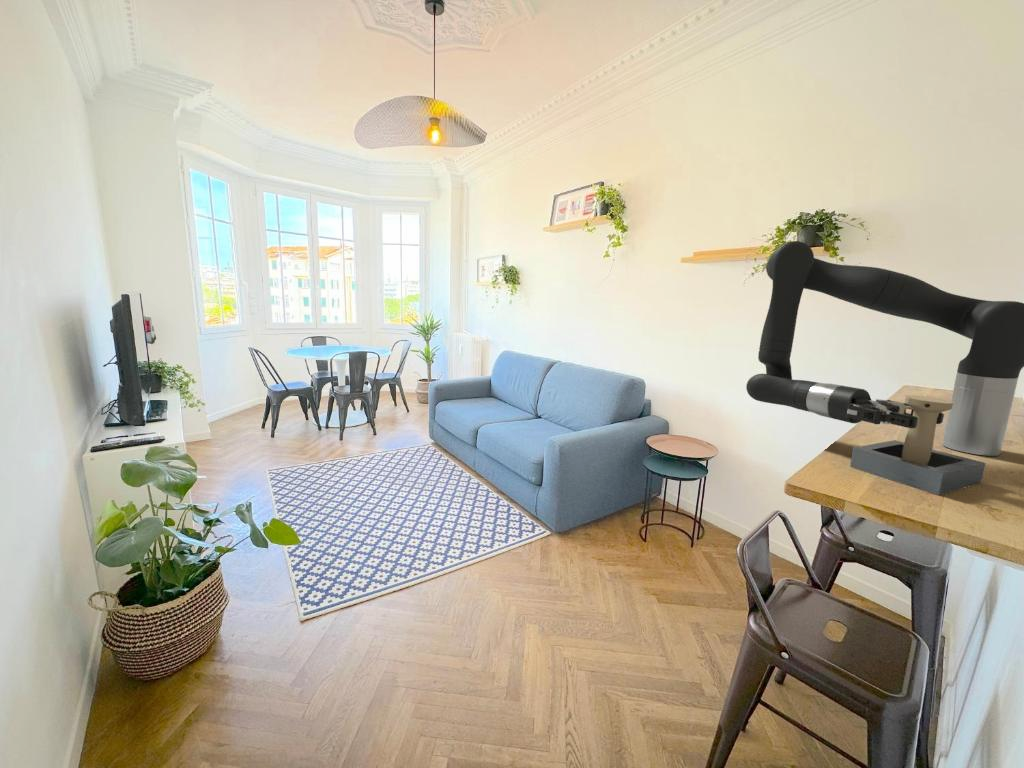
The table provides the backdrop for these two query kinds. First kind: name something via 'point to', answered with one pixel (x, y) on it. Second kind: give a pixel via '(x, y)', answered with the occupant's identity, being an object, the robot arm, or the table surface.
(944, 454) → the housing
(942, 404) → the handle
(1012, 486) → the table surface
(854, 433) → the table surface
